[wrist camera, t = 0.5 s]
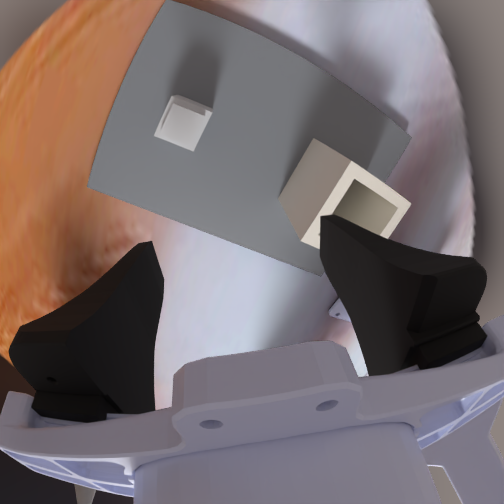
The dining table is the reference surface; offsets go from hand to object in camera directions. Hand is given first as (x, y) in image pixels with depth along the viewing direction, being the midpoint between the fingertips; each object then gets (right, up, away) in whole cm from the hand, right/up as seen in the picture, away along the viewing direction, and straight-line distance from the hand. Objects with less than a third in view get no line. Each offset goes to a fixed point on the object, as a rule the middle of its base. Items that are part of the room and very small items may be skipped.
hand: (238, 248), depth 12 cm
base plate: (+1, +7, +7) cm, 10 cm away
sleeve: (+6, +5, +8) cm, 11 cm away
